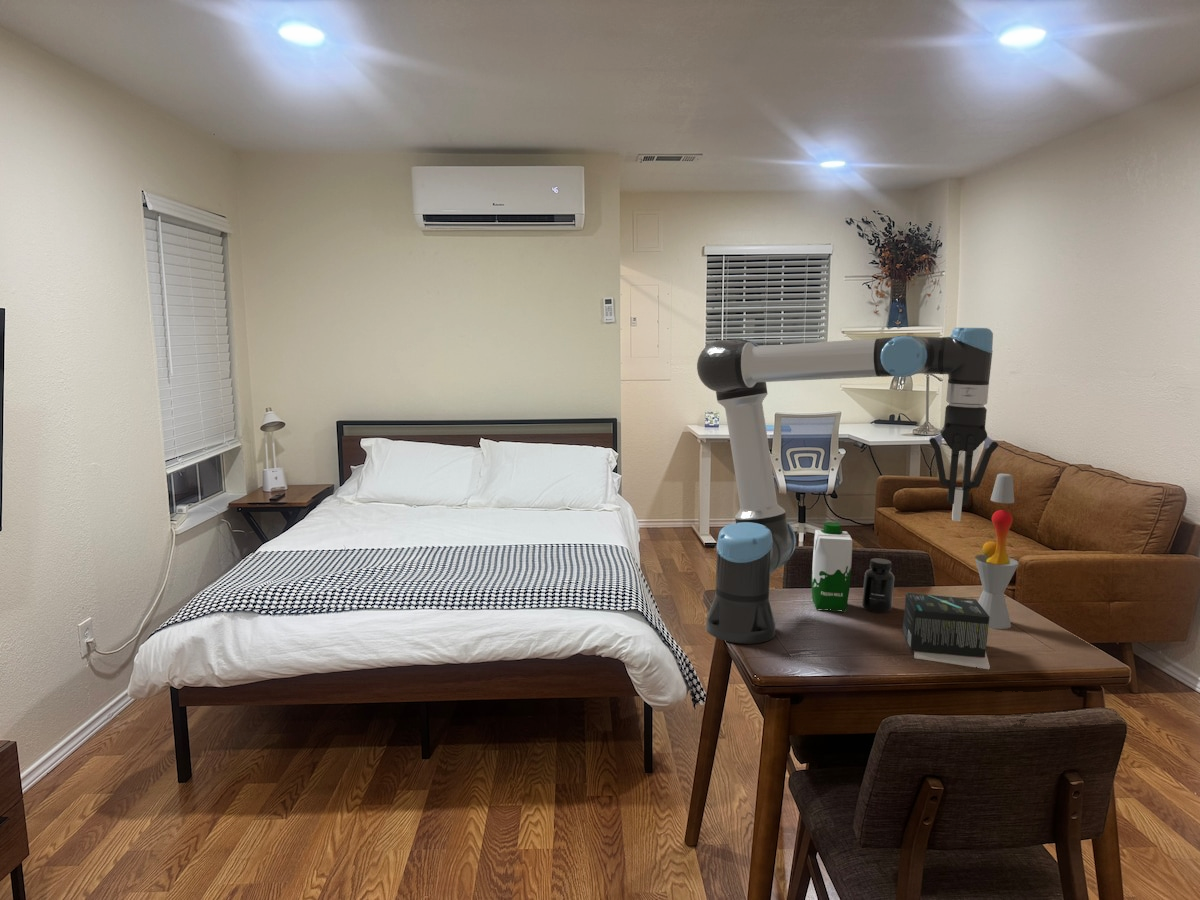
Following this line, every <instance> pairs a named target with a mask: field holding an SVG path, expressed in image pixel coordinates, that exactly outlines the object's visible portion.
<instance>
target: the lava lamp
mask: <svg viewBox="0 0 1200 900" xmlns="http://www.w3.org/2000/svg"><path fill="white" fill-rule="evenodd" d="M1014 490H1015V489H1014V478H1013V475H1012V474H1009V473H998V474H997V475H996V478H995V482H994V485H993V490H992V493H991V497H990V501H991V502H994V503H1000V504H1015V493H1014ZM1013 520H1014V519H1013V515H1012V514H1011V512H1010V511H1008V510H1005V509H999V510H995V512H993V514H992V515H991V522H992V525H993V529H994V530H995V531H994V532H995V535H996V536H995V537H996V542H995V541H990V540H989V541H987V542H985V543H984V544H983V545H982V552H983V554H978V555H975V556H974V559H975V565H976V567H977V571H978V575H979V578H980V583H981V586H982V592H981V594H980V596H979V598H978V600H977V601H978V603H979V604H980V605H981V606H982V608H983V609H984V610H985V611H986V613H987V614H988V615H989V616H990V619H989V625H988V629H992V630H993V629H994V630H1007V629H1010V628H1011V627H1012V624H1011V623H1012V622H1011V620H1010V615H1009V610H1008V606H1007V602H1006V598H1005V592H1006V589H1007V587H1008V586H1009V583H1010V581H1011V579H1012V578H1013V576H1014V574H1015V572H1016V570H1017V569H1018V566H1019V561H1017V560H1016V559H1013V558H1012V557H1009V556H1008V552H1007V537H1008V535H1009V534H1008V533H1009V531H1010V528H1011V526H1012V525H1013V522H1014V521H1013Z"/></svg>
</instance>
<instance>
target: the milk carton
mask: <svg viewBox="0 0 1200 900" xmlns="http://www.w3.org/2000/svg"><path fill="white" fill-rule="evenodd" d="M812 552H813V553H812V564H811V565H812V568H811V582H810V583H811V598H812V599H813V600H812V602H814V603H813V605H814V604H815V605H814V607H815V610H816V609H828V610H830V609H831V610H842V611H846V612H847V609H848V608H847V607H848V602H849V593H850V588H851V587H850V586H851V576H852V575H851V574H852V573H851V572H852V560H853V555H852V554H853V539H852V537H851V535H850V534H849V533H848V531H842V524H840V523H838V522H833V521H830V522H829V521H827V522H824V523H823V529H815V530H814V537H813V551H812ZM842 611H841V612H842Z"/></svg>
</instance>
